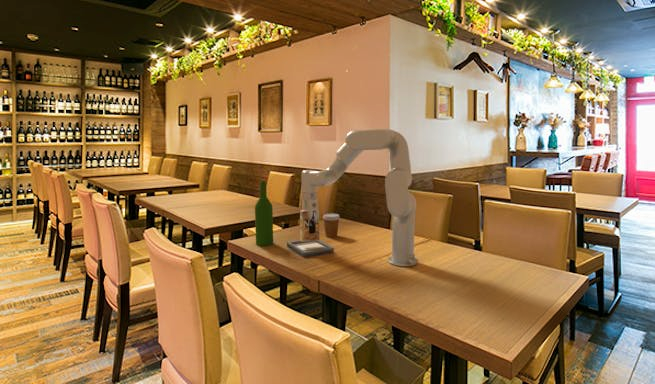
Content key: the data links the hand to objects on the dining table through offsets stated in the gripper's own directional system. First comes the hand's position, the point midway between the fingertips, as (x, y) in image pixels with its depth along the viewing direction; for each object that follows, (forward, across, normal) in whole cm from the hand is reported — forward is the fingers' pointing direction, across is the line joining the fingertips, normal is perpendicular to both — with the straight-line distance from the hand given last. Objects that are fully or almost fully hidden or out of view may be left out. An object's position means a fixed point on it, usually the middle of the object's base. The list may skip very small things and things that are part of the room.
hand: (309, 231), depth 198 cm
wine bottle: (+9, +21, +16) cm, 28 cm away
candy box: (+5, 0, 0) cm, 5 cm away
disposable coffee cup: (+9, +18, -22) cm, 30 cm away
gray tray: (+9, 0, 0) cm, 9 cm away
